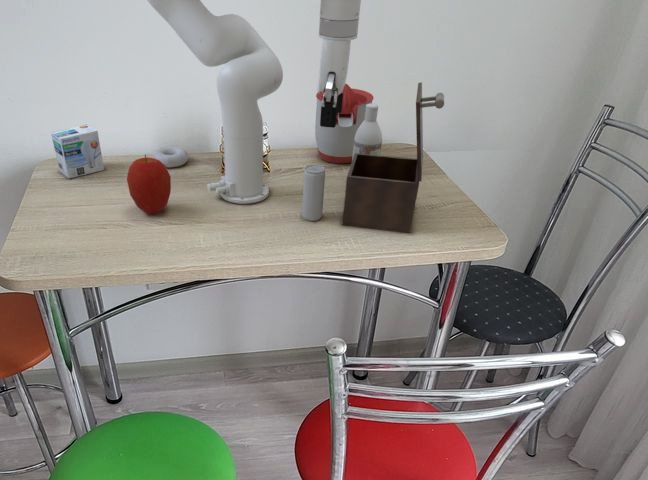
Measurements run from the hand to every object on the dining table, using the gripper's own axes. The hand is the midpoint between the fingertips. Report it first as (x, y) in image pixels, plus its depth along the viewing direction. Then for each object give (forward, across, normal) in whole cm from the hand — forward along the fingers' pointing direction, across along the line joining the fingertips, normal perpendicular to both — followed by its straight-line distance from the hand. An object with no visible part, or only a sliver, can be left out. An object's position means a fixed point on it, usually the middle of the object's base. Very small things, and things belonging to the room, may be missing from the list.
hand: (331, 119), depth 120 cm
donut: (+24, -24, -47) cm, 58 cm away
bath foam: (+23, -22, +8) cm, 33 cm away
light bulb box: (+24, -12, -69) cm, 74 cm away
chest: (+23, -4, +13) cm, 26 cm away
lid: (+2, -4, +19) cm, 19 cm away
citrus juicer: (+23, -38, -1) cm, 45 cm away
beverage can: (+23, +1, -3) cm, 23 cm away
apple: (+23, +6, -41) cm, 47 cm away
